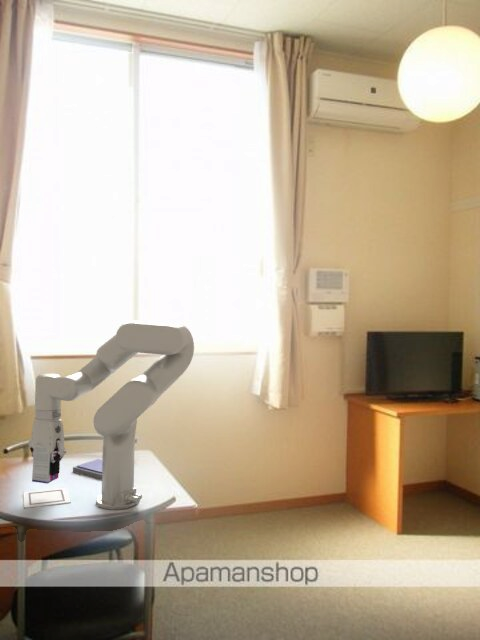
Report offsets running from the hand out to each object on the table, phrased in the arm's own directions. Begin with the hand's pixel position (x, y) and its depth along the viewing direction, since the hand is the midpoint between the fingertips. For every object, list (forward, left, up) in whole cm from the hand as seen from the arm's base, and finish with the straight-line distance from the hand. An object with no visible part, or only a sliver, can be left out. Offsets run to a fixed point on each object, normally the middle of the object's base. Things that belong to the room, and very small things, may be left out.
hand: (46, 471), depth 166 cm
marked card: (0, 0, -8) cm, 8 cm away
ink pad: (+6, -28, -8) cm, 30 cm away
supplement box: (0, 0, -3) cm, 3 cm away
